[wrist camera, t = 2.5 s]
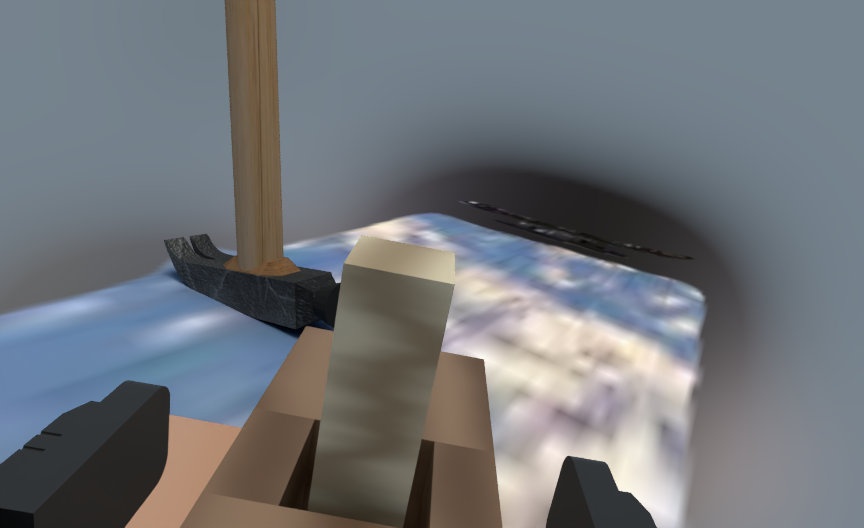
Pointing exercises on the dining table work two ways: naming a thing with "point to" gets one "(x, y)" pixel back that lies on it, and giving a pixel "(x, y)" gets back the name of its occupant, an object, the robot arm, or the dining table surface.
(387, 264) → the maple key
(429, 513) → the walnut toolbox
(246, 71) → the hammer
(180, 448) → the terracotta tile
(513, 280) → the dining table surface
